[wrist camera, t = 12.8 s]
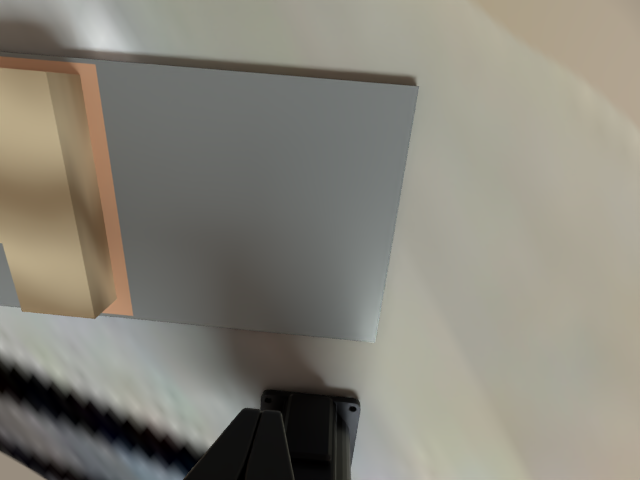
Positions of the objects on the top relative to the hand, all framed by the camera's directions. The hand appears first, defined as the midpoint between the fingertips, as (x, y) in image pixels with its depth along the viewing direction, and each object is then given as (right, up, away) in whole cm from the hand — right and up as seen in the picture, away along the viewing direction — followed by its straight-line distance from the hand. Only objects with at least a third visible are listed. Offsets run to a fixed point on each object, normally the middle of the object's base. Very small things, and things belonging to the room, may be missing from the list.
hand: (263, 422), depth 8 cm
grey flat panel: (-10, +6, +11) cm, 16 cm away
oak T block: (-16, +7, +11) cm, 20 cm away
